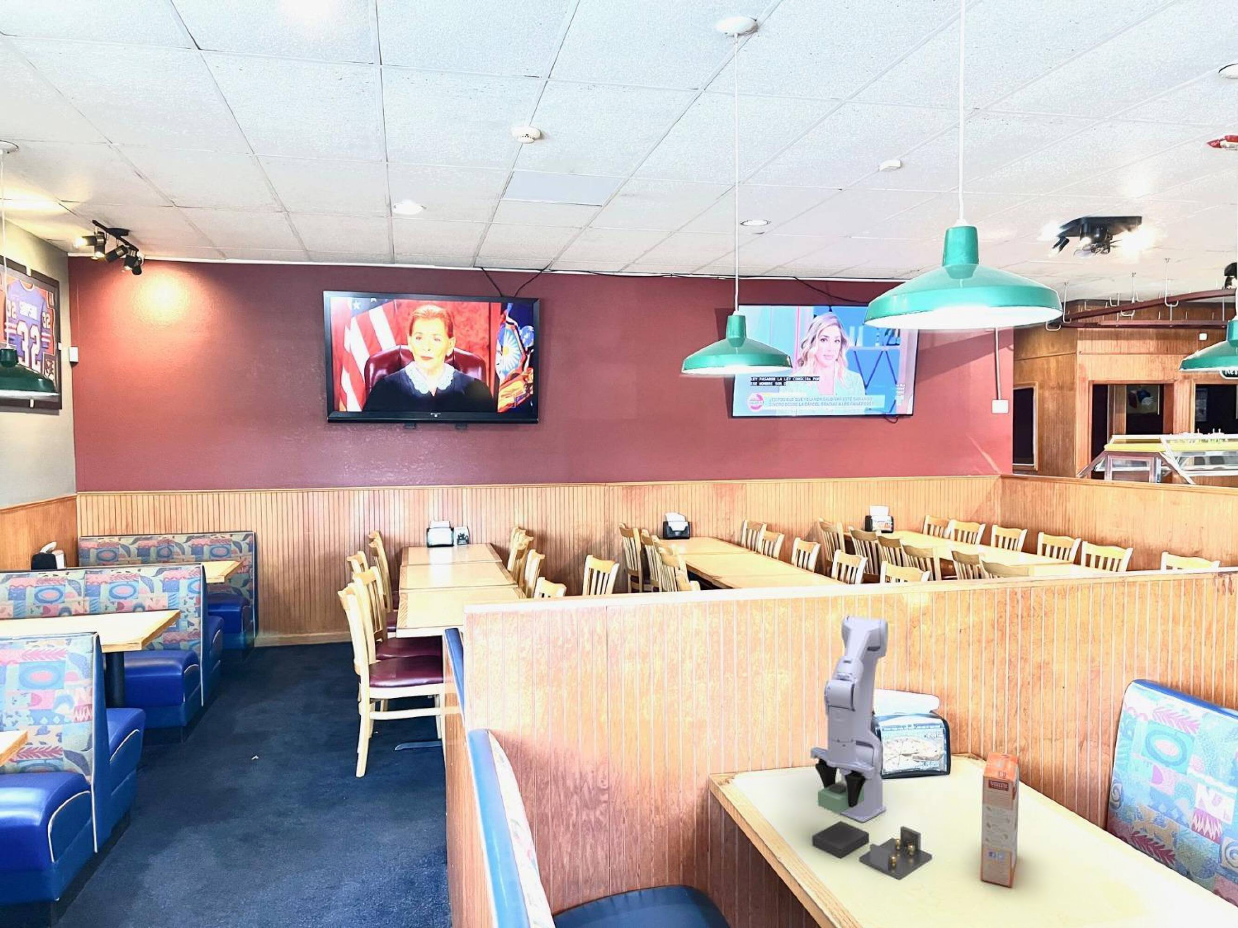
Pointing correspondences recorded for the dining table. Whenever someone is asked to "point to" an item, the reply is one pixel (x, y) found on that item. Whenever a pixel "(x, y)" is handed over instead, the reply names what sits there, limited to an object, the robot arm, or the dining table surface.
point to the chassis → (897, 854)
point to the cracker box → (999, 818)
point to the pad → (840, 839)
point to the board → (836, 797)
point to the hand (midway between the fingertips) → (841, 800)
